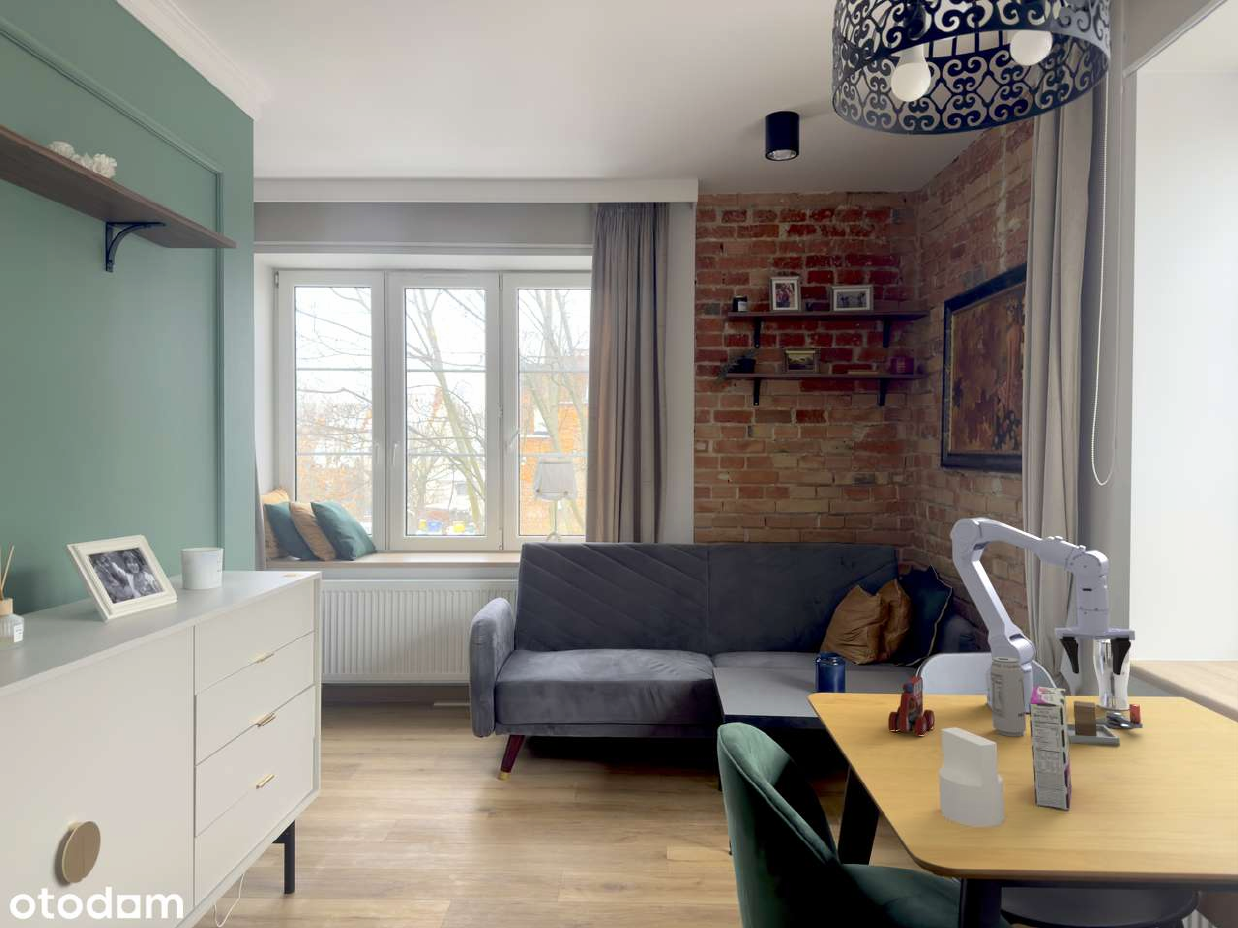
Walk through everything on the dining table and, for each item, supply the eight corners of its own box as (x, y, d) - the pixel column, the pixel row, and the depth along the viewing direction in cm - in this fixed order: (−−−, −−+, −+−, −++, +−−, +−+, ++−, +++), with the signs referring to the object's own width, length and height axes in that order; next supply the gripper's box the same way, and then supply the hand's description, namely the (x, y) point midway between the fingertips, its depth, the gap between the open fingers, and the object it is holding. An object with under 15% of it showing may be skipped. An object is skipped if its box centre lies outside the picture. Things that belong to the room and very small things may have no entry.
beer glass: (1088, 705, 175) (1085, 638, 176) (1108, 701, 178) (1104, 635, 179) (1119, 712, 169) (1115, 643, 170) (1139, 708, 172) (1135, 640, 173)
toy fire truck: (885, 735, 158) (882, 684, 159) (904, 720, 168) (902, 672, 168) (919, 741, 154) (917, 689, 154) (937, 726, 164) (935, 676, 164)
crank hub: (1101, 727, 159) (1101, 723, 159) (1091, 718, 166) (1090, 714, 166) (1140, 729, 157) (1140, 725, 157) (1128, 719, 164) (1127, 715, 164)
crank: (1102, 715, 163) (1101, 695, 163) (1117, 715, 163) (1116, 694, 163) (1131, 728, 154) (1130, 706, 154) (1146, 727, 154) (1145, 706, 154)
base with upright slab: (1018, 821, 116) (1014, 741, 117) (968, 830, 113) (965, 748, 114) (974, 799, 125) (971, 724, 125) (928, 807, 122) (924, 731, 123)
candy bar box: (1037, 782, 131) (1032, 685, 132) (1072, 787, 128) (1066, 688, 129) (1033, 805, 122) (1027, 700, 122) (1069, 812, 119) (1064, 704, 120)
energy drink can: (1028, 738, 154) (1025, 662, 154) (995, 736, 156) (992, 661, 156) (1023, 729, 160) (1019, 656, 160) (991, 727, 161) (988, 655, 162)
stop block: (1096, 740, 150) (1095, 707, 150) (1075, 738, 152) (1073, 705, 152) (1096, 735, 153) (1094, 702, 153) (1075, 733, 155) (1073, 700, 155)
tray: (1069, 742, 150) (1069, 735, 150) (1057, 729, 159) (1057, 722, 159) (1119, 745, 148) (1119, 738, 148) (1104, 731, 156) (1104, 724, 156)
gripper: (1059, 610, 161) (1063, 676, 161) (1139, 611, 157) (1142, 678, 157) (1050, 606, 168) (1054, 668, 167) (1126, 606, 164) (1130, 671, 163)
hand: (1096, 673), depth 163 cm, fingers open, 7 cm apart
